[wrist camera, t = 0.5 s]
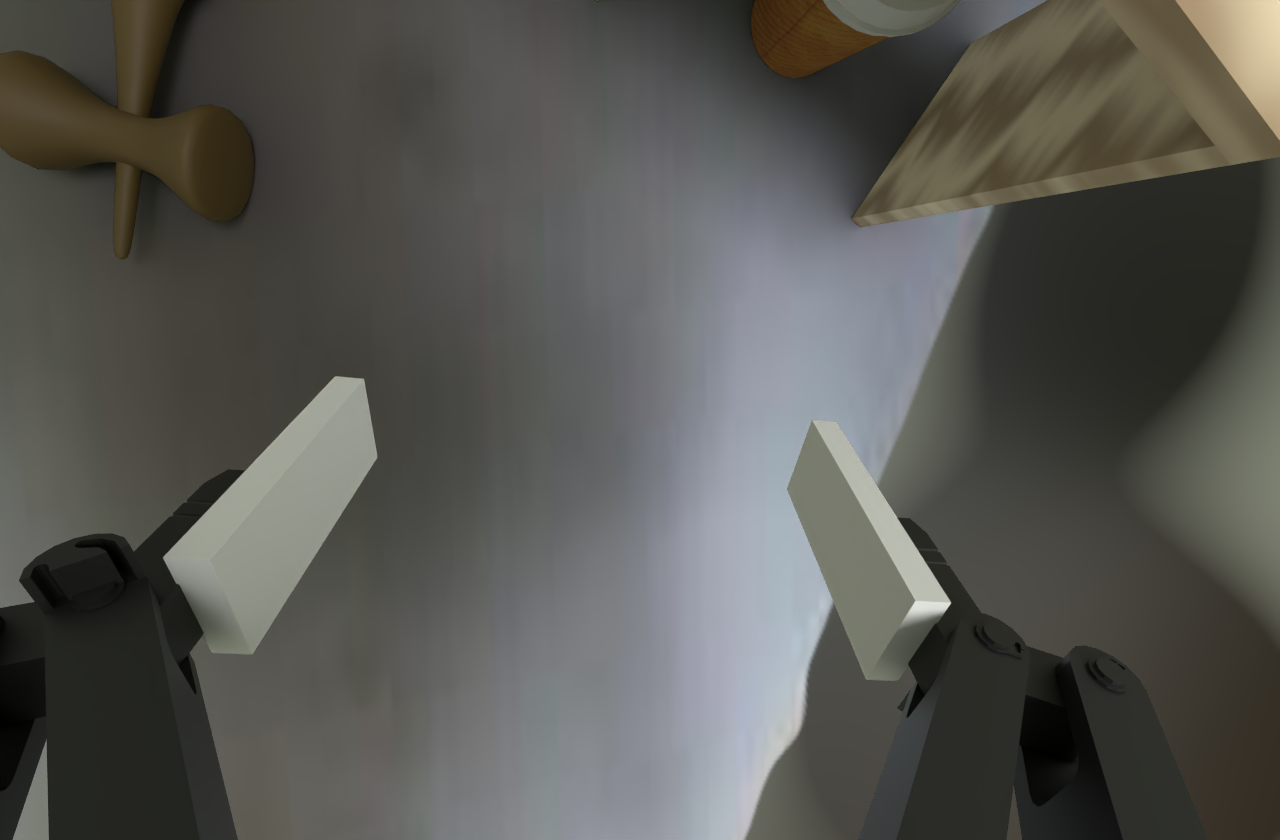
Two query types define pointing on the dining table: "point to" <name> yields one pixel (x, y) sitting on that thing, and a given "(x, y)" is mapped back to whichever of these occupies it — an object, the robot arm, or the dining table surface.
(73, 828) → the robot arm
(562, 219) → the dining table surface
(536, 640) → the dining table surface
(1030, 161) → the plywood stool
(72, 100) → the kendama
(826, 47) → the disposable coffee cup
